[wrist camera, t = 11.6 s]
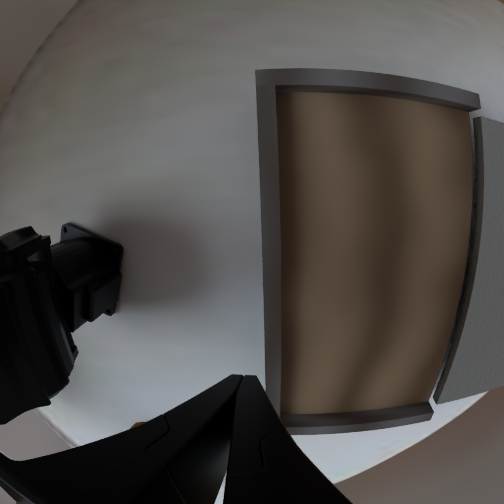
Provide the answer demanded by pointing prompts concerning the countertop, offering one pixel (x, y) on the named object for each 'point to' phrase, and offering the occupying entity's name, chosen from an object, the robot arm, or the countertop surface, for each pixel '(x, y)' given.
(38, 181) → the countertop surface
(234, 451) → the robot arm
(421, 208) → the tray
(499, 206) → the panel
